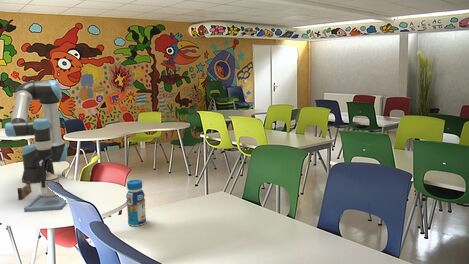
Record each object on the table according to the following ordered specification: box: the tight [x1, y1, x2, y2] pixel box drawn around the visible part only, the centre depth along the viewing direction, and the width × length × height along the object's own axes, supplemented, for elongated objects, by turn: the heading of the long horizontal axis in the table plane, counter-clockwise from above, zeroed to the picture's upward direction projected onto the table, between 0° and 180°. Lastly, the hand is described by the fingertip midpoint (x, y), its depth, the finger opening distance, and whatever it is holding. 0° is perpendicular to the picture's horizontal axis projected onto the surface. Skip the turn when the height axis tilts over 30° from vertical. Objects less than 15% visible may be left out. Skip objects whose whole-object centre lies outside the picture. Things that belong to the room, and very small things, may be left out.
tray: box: [23, 194, 68, 213], centre depth 211 cm, size 20×18×2 cm
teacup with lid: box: [39, 171, 60, 196], centre depth 210 cm, size 12×9×12 cm
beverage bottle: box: [125, 179, 147, 227], centre depth 181 cm, size 8×8×20 cm
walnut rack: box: [16, 179, 60, 201], centre depth 226 cm, size 14×18×6 cm
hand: (48, 190), depth 210 cm, fingers closed on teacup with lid, 9 cm apart
